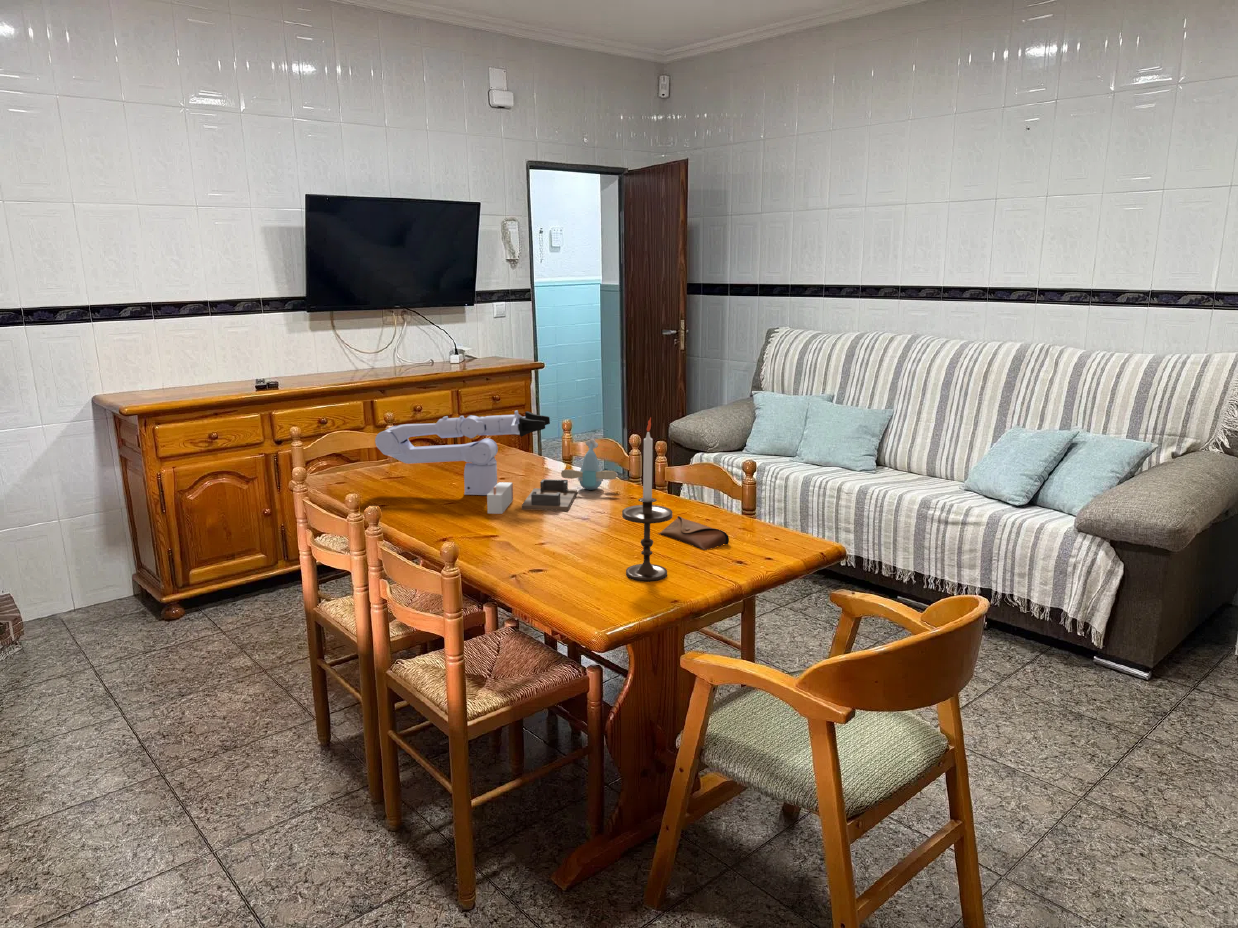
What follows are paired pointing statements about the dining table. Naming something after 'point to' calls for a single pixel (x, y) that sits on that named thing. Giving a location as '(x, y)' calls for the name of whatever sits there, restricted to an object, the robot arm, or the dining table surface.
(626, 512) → the candlestick
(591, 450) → the toy figure
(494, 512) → the white rectangular block
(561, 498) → the cradle jig
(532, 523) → the dining table surface
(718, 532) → the sunglasses case
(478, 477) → the robot arm
